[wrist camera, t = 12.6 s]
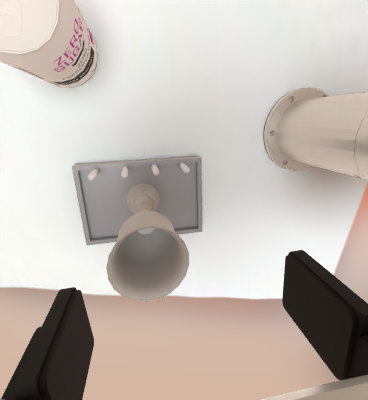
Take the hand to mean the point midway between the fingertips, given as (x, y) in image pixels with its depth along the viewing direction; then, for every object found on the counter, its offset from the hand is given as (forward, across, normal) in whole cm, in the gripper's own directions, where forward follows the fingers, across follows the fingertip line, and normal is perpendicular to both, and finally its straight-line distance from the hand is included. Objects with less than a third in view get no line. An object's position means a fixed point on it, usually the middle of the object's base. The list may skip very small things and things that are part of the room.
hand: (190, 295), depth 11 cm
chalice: (+27, +3, +4) cm, 28 cm away
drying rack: (+28, +3, +4) cm, 28 cm away
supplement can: (+28, +10, -16) cm, 34 cm away
